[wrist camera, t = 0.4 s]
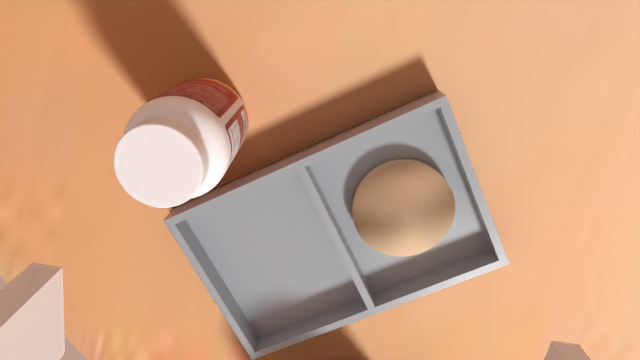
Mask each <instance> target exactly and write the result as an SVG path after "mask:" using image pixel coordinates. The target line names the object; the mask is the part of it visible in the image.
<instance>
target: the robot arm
mask: <svg viewBox="0 0 640 360" xmlns="http://www.w3.org/2000/svg"><path fill="white" fill-rule="evenodd" d="M64 346H65V342H64V307H63V273H62V267H56V266H50V265H43V264H36V263H32V264H31V265H30V266H28V267H27V268H26V269H25V270H24V271H23V272H21V273H20V274H19V275H18V276H17V277H16V278H14V279H13V280H12V281H11V282H10V283H9V284H7V285H6V286H5V287H4V288H3V289H2V290H0V360H59V359H60V358H61V357H62V356H63V354H64V353H65V347H64ZM544 360H590V358H589V357H588V356H587V354H586V353H585V352H584V350H583V349H582V348H581V346H580V345H577V344H571V343H564V342H557V341H552V342H551V344H550V347H549V349H548V352H547V354H546V357H545V359H544Z"/></svg>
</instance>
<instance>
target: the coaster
mask: <svg viewBox="0 0 640 360" xmlns="http://www.w3.org/2000/svg"><path fill="white" fill-rule="evenodd" d="M352 214H353V221H354V225H355V227H356V230H357V232H358V234H359V235H360V237H361V238H362V239H363V241H364V242H365V243H366V244H368V245H369V246H370V247H371V248H373V249H375V250H376V251H378V252H381V253H383V254H386V255H390V256H400V257H404V256H412V255H416V254H419V253H422V252H425V251H427V250H429V249H430V248H432V247H434V246H435V245H436V244H437V243H439V242H440V241H441V240H442V239H443V238H444V236H445V235H446V234H447V232H448V231H449V229H450V227H451V225H452V223H453V219H454V216H455V199H454V195H453V192H452V190H451V188H450V186H449V184H448V183H447V181H446V180H445V178H444V177H443V176H442V174H441V173H440V172H439V171H438V170H437V169H435V168H434V167H433V166H431V165H430V164H428V163H426V162H423V161H421V160H417V159H412V158H395V159H391V160H387V161H384V162H382V163H380V164H378V165H376V166H375V167H373V168H372V169H370V170H369V171H368V172H367V173H366V174H365V175H364V176H363V177H362V178H361V180H360V181H359V183H358V184H357V186H356V188H355V191H354V194H353V199H352Z"/></svg>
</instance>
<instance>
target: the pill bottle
mask: <svg viewBox="0 0 640 360" xmlns="http://www.w3.org/2000/svg"><path fill="white" fill-rule="evenodd" d="M248 125H249V121H248V113H247V110H246V107H245V105H244V103H243V101H242V99H241V98H240V97H239V95H238V94H237V93H236V92H235V91H234V90H233V89H231V88H230V87H229V86H227V85H226V84H224V83H222V82H220V81H217V80H214V79H209V78H196V79H191V80H188V81H185V82H183V83H181V84H179V85H178V86H176V87H174V88H172V89H170V90H169V91H167V92H165V93H163V94H161V95H159V96H158V97H156V98H154V99H152V100H150V101H148V102H147V103H146V104H144V105H143V106H142V107H140V108H139V109H138V110H137V111H136V112H135V113H134V114H133V115H132V117H131V118H130V120H129V122H128V123H127V126H126V128H125V131H124V135H123V136H122V137H121V138H120V140H119V141H118V143H117V145H116V148H115V151H114V158H113V160H114V170H115V173H116V176H117V178H118V180H119V182H120V184H121V185H122V187H123V188H124V189H125V190H126V192H127V193H129V194H130V195H131V196H132V197H133V198H135V199H136V200H138V201H140V202H142V203H144V204H146V205H149V206H153V207H159V208H169V207H174V206H178V205H180V204H183V203H185V202H186V201H188V200H189V199H191V198H195V197H198V196H201V195H203V194H205V193H207V192H208V191H210V190H211V189H212V188H214V187H215V186H216V185H217V184H218V183H219V181H220V180H221V179H222V177H223V176H224V174H225V173H226V171H227V169H228V167H229V166H230V164H231V162H232V161H233V159H234V157H235V156H236V154H237V152H238V151H239V149H240V147H241V146H242V144H243V142H244V140H245V138H246V135H247V132H248Z"/></svg>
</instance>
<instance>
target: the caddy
mask: <svg viewBox="0 0 640 360" xmlns="http://www.w3.org/2000/svg"><path fill="white" fill-rule="evenodd" d="M395 158H412V159H417V160H421V161H423V162H426V163H428V164H430V165H431V166H433V167H434V168H435V169H437V170H438V171H439V172H440V173H441V174H442V176H443V177H444V178H445V180H446V181H447V183H448V184H449V186H450V188H451V190H452V192H453V195H454V199H455V216H454V219H453V223H452V225H451V227H450V229H449V231H448V232H447V234H446V235H445V236H444V238H443V239H442V240H441V241H440V242H439V243H437V244H436V245H435V246H434V247H432V248H430V249H429V250H427V251H425V252H422V253H419V254H416V255H412V256H404V257H400V256H390V255H386V254H383V253H381V252H378V251H376V250H375V249H373V248H371V247H370V246H369V245H368V244H366V243H365V242H364V241H363V239H362V238H361V237H360V235H359V234H358V232H357V230H356V227H355V225H354V221H353V214H352V199H353V194H354V191H355V188H356V186H357V184H358V183H359V181H360V180H361V178H362V177H363V176H364V175H365V174H366V173H367V172H368V171H369V170H370V169H372V168H373V167H375V166H376V165H378V164H380V163H382V162H384V161H387V160H391V159H395ZM164 222H165V224H166V225H167V227H168V229H169V230H170V232H171V233H172V235H173V236H174V238H175V240H176V241H177V243H178V244H179V246H180V247H181V249H182V251H183V252H184V254H185V255H186V257H187V259H188V260H189V262H190V263H191V265H192V266H193V268H194V270H195V271H196V273H197V274H198V276H199V277H200V279H201V281H202V282H203V284H204V285H205V287H206V288H207V290H208V292H209V293H210V295H211V296H212V298H213V300H214V301H215V303H216V304H217V306H218V307H219V309H220V311H221V312H222V314H223V315H224V317H225V318H226V320H227V322H228V323H229V325H230V326H231V328H232V329H233V331H234V333H235V334H236V336H237V337H238V339H239V340H240V342H241V344H242V345H243V347H244V348H245V350H246V352H247V353H248V355H249V356H250V358H251V359H252V360H254V359H257V358H259V357H262V356H265V355H267V354H270V353H273V352H275V351H278V350H281V349H283V348H286V347H289V346H291V345H294V344H297V343H299V342H302V341H305V340H307V339H310V338H313V337H315V336H318V335H321V334H323V333H326V332H329V331H331V330H334V329H337V328H339V327H342V326H345V325H347V324H350V323H353V322H355V321H358V320H361V319H363V318H366V317H369V316H371V315H374V314H377V313H379V312H382V311H385V310H387V309H390V308H393V307H395V306H398V305H401V304H403V303H406V302H409V301H411V300H414V299H417V298H419V297H422V296H425V295H427V294H430V293H433V292H435V291H438V290H441V289H444V288H446V287H449V286H452V285H454V284H457V283H460V282H462V281H465V280H468V279H470V278H473V277H476V276H478V275H481V274H484V273H486V272H489V271H492V270H494V269H497V268H500V267H502V266H505V265H508V264H509V262H508V259H507V257H506V254H505V251H504V249H503V246H502V243H501V241H500V238H499V235H498V233H497V230H496V227H495V225H494V222H493V219H492V217H491V214H490V211H489V209H488V206H487V203H486V201H485V198H484V195H483V193H482V190H481V187H480V185H479V182H478V179H477V177H476V174H475V171H474V169H473V166H472V164H471V161H470V158H469V156H468V153H467V150H466V148H465V145H464V142H463V140H462V137H461V134H460V132H459V129H458V126H457V124H456V121H455V118H454V116H453V113H452V110H451V108H450V105H449V102H448V100H447V97H446V95H445V94H443V93H442V92H441V91H439V90H435V91H433V92H431V93H429V94H426V95H424V96H422V97H420V98H417V99H415V100H413V101H411V102H408V103H406V104H404V105H402V106H400V107H397V108H395V109H393V110H391V111H388V112H386V113H384V114H382V115H379V116H377V117H375V118H373V119H370V120H368V121H366V122H364V123H361V124H359V125H357V126H355V127H353V128H350V129H348V130H346V131H344V132H341V133H339V134H337V135H335V136H332V137H330V138H328V139H326V140H323V141H321V142H319V143H317V144H314V145H312V146H310V147H308V148H306V149H303V150H301V151H299V152H297V153H294V154H292V155H290V156H288V157H285V158H283V159H281V160H279V161H276V162H274V163H272V164H270V165H267V166H265V167H263V168H261V169H259V170H256V171H254V172H252V173H250V174H247V175H245V176H243V177H241V178H238V179H236V180H234V181H232V182H229V183H227V184H225V185H223V186H220V187H218V188H216V189H214V190H212V191H209V192H207V193H205V194H203V195H201V196H198V197H196V198H194V199H191V200H189V201H187V202H185V203H183V204H180V205H178V206H176V207H174V208H173V209H172V210H171V212H170V213H169V214H168V216H167V217H166V218H165V220H164Z"/></svg>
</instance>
